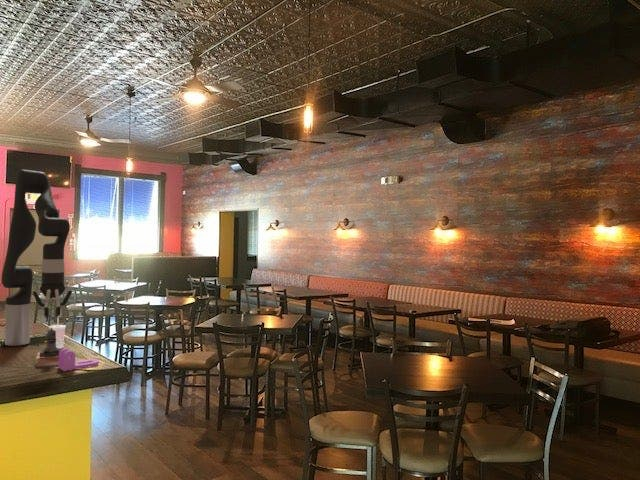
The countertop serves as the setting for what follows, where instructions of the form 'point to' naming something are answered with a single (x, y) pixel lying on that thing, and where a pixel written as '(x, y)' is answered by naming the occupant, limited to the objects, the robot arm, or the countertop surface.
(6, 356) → the countertop surface
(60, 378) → the countertop surface
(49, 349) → the salt shaker
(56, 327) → the beverage cup
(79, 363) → the bracket
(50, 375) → the countertop surface
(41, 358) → the shaker holder
